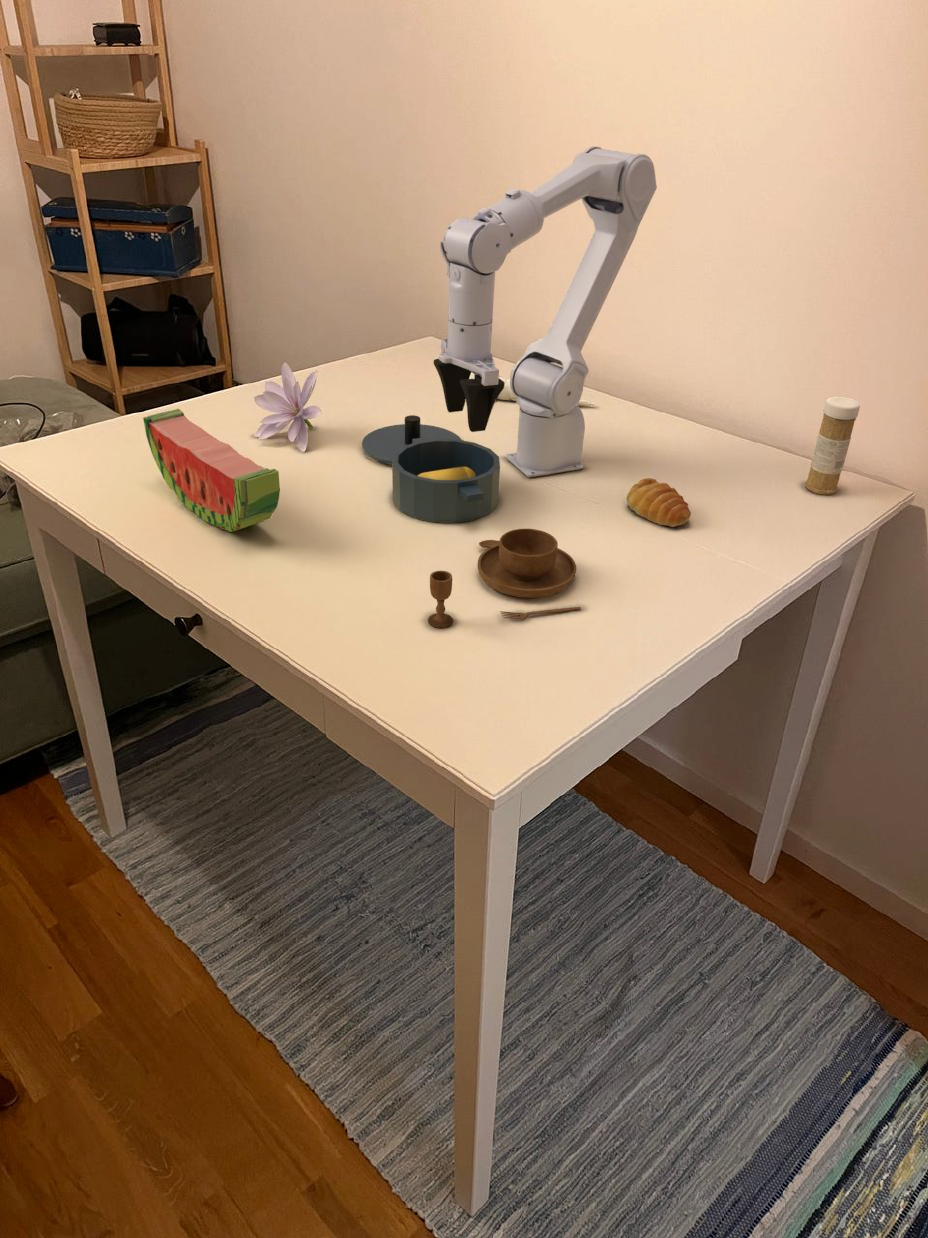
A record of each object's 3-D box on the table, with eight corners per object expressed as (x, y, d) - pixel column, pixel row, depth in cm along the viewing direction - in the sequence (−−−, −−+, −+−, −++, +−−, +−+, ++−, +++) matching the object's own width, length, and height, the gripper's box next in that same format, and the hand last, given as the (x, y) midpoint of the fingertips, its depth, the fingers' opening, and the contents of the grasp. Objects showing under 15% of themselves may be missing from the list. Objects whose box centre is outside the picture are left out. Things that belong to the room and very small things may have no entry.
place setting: (600, 609, 107) (606, 565, 104) (432, 632, 102) (433, 586, 99) (547, 538, 121) (551, 497, 118) (397, 556, 116) (397, 514, 113)
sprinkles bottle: (823, 480, 139) (846, 393, 132) (843, 493, 136) (868, 404, 128) (797, 484, 138) (819, 396, 130) (817, 497, 134) (841, 408, 127)
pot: (464, 464, 140) (465, 426, 137) (524, 521, 125) (526, 481, 122) (372, 478, 135) (371, 439, 132) (422, 539, 120) (423, 498, 117)
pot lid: (439, 425, 153) (440, 395, 151) (478, 461, 141) (480, 429, 139) (349, 437, 148) (347, 406, 145) (381, 476, 136) (381, 443, 133)
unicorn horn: (591, 415, 159) (594, 387, 156) (457, 398, 164) (457, 372, 161) (595, 405, 163) (598, 378, 160) (464, 390, 168) (465, 363, 165)
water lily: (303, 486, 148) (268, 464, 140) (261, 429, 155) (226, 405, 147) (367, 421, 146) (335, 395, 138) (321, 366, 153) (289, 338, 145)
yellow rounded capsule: (470, 486, 133) (470, 461, 131) (481, 495, 130) (481, 469, 128) (409, 496, 130) (407, 470, 128) (418, 505, 127) (417, 479, 125)
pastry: (701, 523, 126) (706, 497, 124) (664, 534, 123) (668, 508, 121) (655, 496, 133) (659, 471, 131) (619, 506, 130) (622, 481, 128)
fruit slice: (151, 484, 132) (139, 416, 126) (191, 473, 135) (182, 406, 130) (246, 556, 115) (237, 482, 110) (289, 540, 119) (283, 468, 113)
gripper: (421, 307, 124) (419, 405, 131) (464, 337, 113) (460, 443, 120) (469, 303, 127) (465, 400, 134) (516, 333, 116) (509, 436, 123)
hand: (466, 420), depth 127 cm, fingers open, 7 cm apart
